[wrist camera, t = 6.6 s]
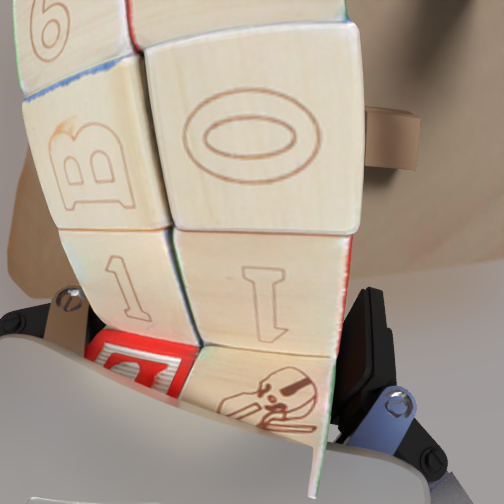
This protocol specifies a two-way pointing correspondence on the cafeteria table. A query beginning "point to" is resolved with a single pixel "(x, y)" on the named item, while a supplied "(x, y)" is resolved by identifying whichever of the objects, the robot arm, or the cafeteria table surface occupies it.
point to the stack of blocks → (205, 191)
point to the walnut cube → (391, 138)
